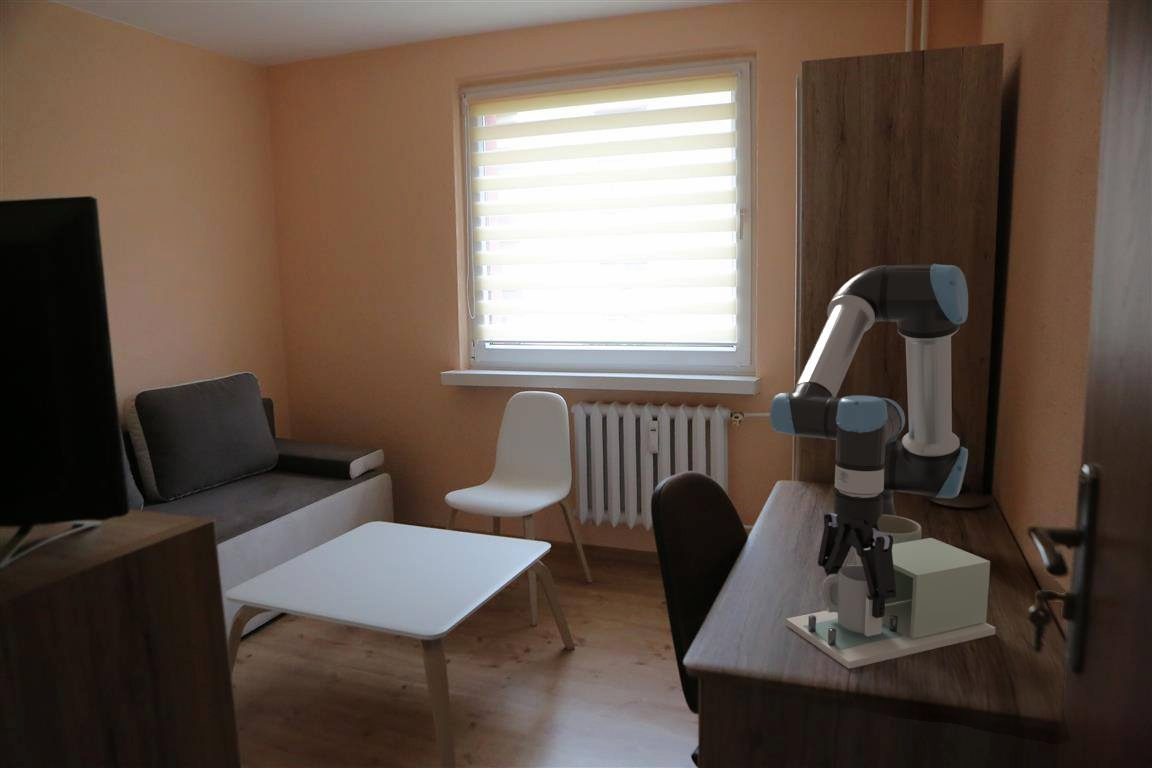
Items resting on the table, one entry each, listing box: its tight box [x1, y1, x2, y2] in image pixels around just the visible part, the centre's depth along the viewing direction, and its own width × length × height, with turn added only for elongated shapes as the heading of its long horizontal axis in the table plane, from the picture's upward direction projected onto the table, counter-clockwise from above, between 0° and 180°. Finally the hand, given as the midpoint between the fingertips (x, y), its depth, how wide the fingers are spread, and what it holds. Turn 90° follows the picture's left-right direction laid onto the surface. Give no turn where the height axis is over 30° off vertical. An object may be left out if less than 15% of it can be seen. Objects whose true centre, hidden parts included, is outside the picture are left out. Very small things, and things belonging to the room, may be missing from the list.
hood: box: [864, 537, 991, 638], centre depth 132 cm, size 16×13×11 cm
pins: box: [808, 615, 898, 646], centre depth 127 cm, size 14×6×2 cm, turn 111°
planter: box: [854, 514, 922, 565], centre depth 153 cm, size 12×12×11 cm
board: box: [785, 599, 996, 669], centre depth 130 cm, size 30×16×1 cm, turn 111°
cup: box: [821, 564, 884, 633], centre depth 127 cm, size 7×10×9 cm
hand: (853, 621), depth 127 cm, fingers open, 9 cm apart
